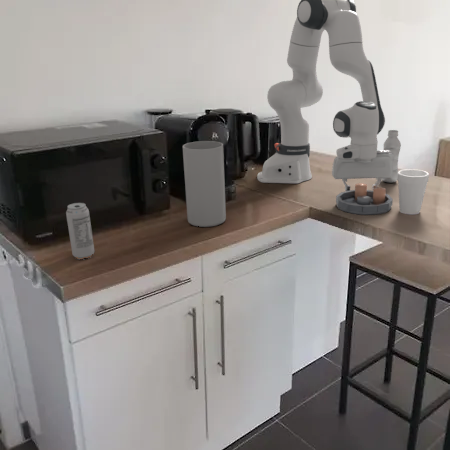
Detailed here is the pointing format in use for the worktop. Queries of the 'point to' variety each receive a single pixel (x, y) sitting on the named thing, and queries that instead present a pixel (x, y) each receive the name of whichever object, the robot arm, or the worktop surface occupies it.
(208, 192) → the cylinder vase
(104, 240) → the worktop surface
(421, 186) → the foam cup
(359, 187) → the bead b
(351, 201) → the tray
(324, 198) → the worktop surface
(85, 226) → the energy drink can
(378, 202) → the peach egg shape
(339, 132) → the robot arm
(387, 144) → the plastic bottle
